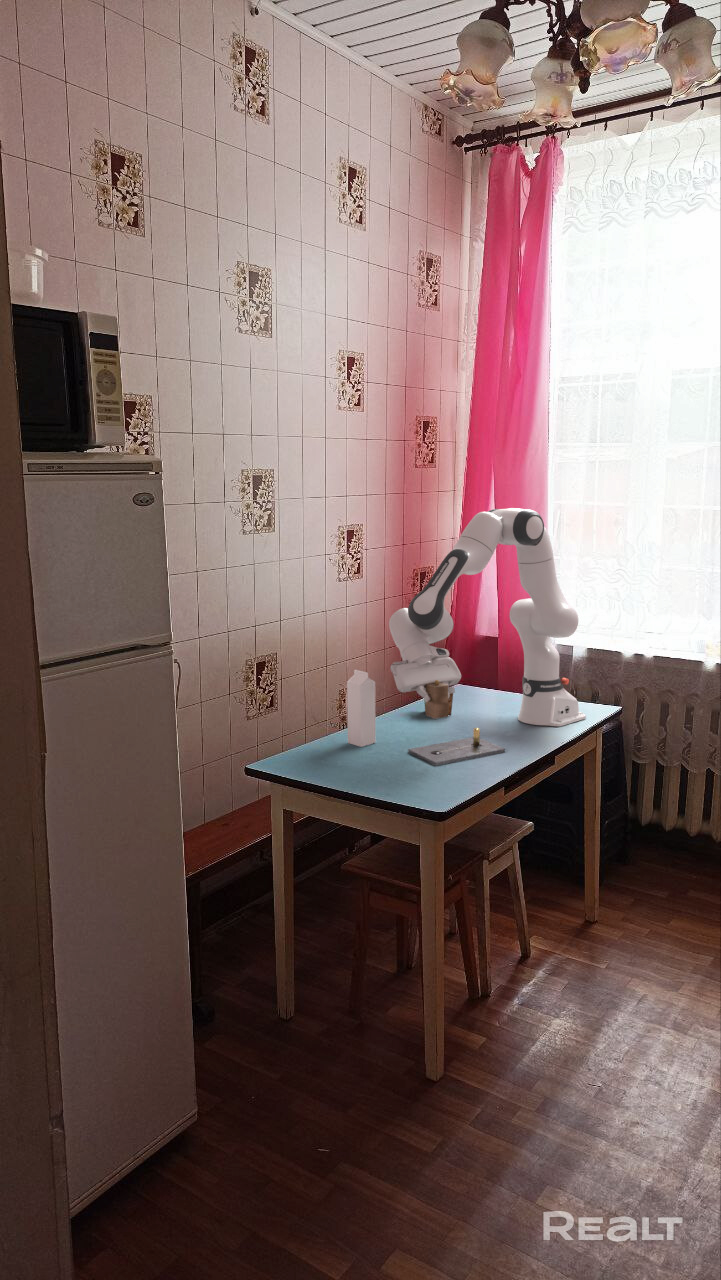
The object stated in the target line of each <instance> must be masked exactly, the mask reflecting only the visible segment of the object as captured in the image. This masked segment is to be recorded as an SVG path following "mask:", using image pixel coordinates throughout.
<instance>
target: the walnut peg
mask: <svg viewBox="0 0 721 1280" xmlns="http://www.w3.org/2000/svg"><path fill="white" fill-rule="evenodd" d="M426 692H427V693H428V694H431V697H432V700H431V702H426V714H424V715H425V716H427V717H429V718H432V719H435V720H436V719H441V718H447V717H449V716H448V685H446V684H443V683H439V680H435V683H433V684H426Z"/></svg>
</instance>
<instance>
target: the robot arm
mask: <svg viewBox="0 0 721 1280" xmlns="http://www.w3.org/2000/svg"><path fill="white" fill-rule="evenodd" d="M551 541H552V540H551V538H550V535H549V532H548V529H547V528H546V527H545V524H544V520H543V517H542V516H541V514H540V513H539V512H537V511H536V510H532V509H527V508H525V509H524V508H516V507H510V508H500V509H499V508H495V509H490V510H487V511H480V512H478V513H476V514H475V515H474V516H473V517H472V519H471V520H470V521H469V522H468V524H467V525H466V527H465V528H464V530H463V531H462V533H461V534H460V535H459V538H458V539H457V542H456V543H455V545H454V546H453V547H452V549H451V551H450V552H449V553H448V554H447V555H445V557H444V559H443V560H442V561H441V563H440V564H439V566H438V567H437V569H436V571H435V572H434V573H433V575H432V576H431V577H430V579H429V581H428V582H427V584H426V585H425V587H423V589H422V590H421V591H420V592H418V593H417V594H416V595H415V596H414V597H413V598H412V599H411V600H410V602H409V604H408V607H403V608H399V609H398V610H396V611H395V612H394V613H393V614H392V615H391V616H390V618H389V621H388V627H389V631H390V635H391V637H392V640H393V642H394V644H395V646H396V647H397V648H398V650H399V653H400V658H401V661H394V662H393V663H392V664H391V665H390V669H389V670H390V672H391V673H392V675H393V678H394V679H393V680H394V682H395V685H396V688H397V690H398V691H399V692H400V693H406V692H408V693H409V692H414V691H416V692H417V694H418V695H419V696H421V697H422V698H423V701H424V700H425V702H431V700H432V697H431V694H428V693H427V692H426V691H424V689H426V684H433V683H435V680H439V683H443V684H446V685H448V687H450V686H455V685H458V683H459V682H460V680H461V678H462V674H461V671H460V669H459V668H458V665H457V664H456V662H455V660H454V659H453V658H451V657H449V656H450V652H449V649H446V648H441V647H436V646H433V645H432V644H435V643H438V642H440V641H443V640H445V639H447V638H448V637H449V636H450V635H451V634H452V632H453V631H454V627H455V626H454V625H455V623H454V619H453V617H452V616H451V614H450V613H449V611H448V610H447V608H446V607H445V600H446V597H447V596H448V594H449V592H450V591H451V589H452V587H454V585H455V583H456V581H457V580H458V578H459V577H460V576H462V575H467V576H473V575H477V574H480V573H481V572H483V570H485V568H486V567H487V565H488V563H489V562H490V560H491V559H492V557H493V555H494V552H495V551H496V549H497V546H498V544H499V545H505V546H515V548H516V559H517V567H518V573H519V581H520V584H521V585H520V586H521V587H522V589H523V590H524V591H525V592H526V593H527V594H528V596H529V597H530V598H523V599H518V600H517V601H514V603H513V604H512V605H511V607H510V609H509V619H510V620H509V621H510V623H511V624H512V625H513V627H514V628H515V629H516V632H517V633H518V636H519V638H520V642H521V645H522V651H523V661H524V662H523V675H522V683H521V684H522V687H521V688H522V697H521V703H520V708H519V709H520V710H519V713H518V717H517V720H518V721H520V722H521V723H524V724H529V725H534V726H551V727H563V726H566V725H569V724H572V723H575V722H579V721H582V720H586V719H587V716H586V714H585V713H584V712H581V711H580V709H579V701H578V700H577V698H576V697H575V696H573V695H572V694H571V693H569V692H568V691H567V690H566V689H565V688H564V686H563V685H569V683H570V679H569V678H566V677H562V678H561V677H560V660H561V659H560V653H559V651H558V650H557V648H556V647H555V646H554V645H553V642H552V639H551V638H553V639H559V638H560V639H561V638H569V637H571V636H573V634H574V633H575V632H576V630H577V629H578V626H579V615H578V612H577V611H576V610H575V608H573V607H572V606H571V605H570V604H569V602H568V601H567V598H565V596H564V594H563V592H562V590H561V586H560V584H559V581H558V578H557V577H558V576H557V571H556V566H555V565H556V564H555V558H554V549H553V546H552V542H551ZM449 697H450V695H449V692H448V698H449Z"/></svg>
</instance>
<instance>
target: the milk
mask: <svg viewBox="0 0 721 1280" xmlns="http://www.w3.org/2000/svg"><path fill="white" fill-rule="evenodd" d="M346 695H347V696H346V699H347V700H346V703H347V706H346V711H347V716H346V717H347V718H346V719H347V723H346V724H347V743H348V744H351V745H354V746H357V747H360V748H362V747H366V745H367V746H369V745H373V743H374V744H376V681H375V680H373V679H372V678H370V677H369V673H368V671H367V672H366V671H362V670H359V669H354V670H353V675H352V676H351V677H350V678H349V679H348V680H347V681H346Z"/></svg>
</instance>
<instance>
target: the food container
mask: <svg viewBox="0 0 721 1280" xmlns="http://www.w3.org/2000/svg"><path fill="white" fill-rule="evenodd" d="M454 686H455V685H452V686H449V687H448V692H449V695H450V697H449V698H448V715H450V716H452V709H453V700H454V694H455V693H456V690H455V689H456V688H455V687H454ZM424 691H426V689H424ZM423 701H424V713H426V702H425V700H424V699H423Z"/></svg>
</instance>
